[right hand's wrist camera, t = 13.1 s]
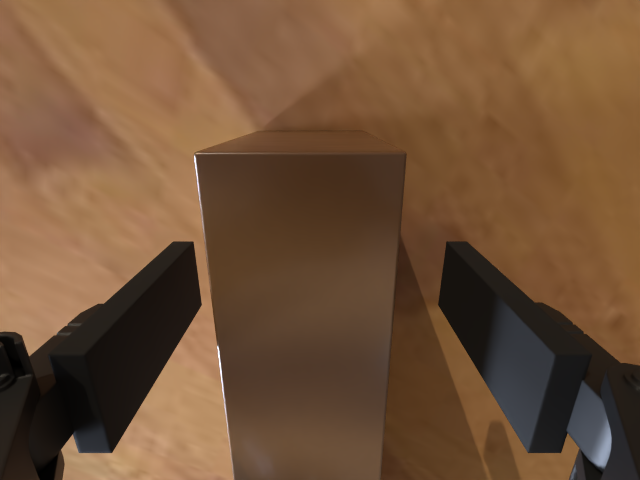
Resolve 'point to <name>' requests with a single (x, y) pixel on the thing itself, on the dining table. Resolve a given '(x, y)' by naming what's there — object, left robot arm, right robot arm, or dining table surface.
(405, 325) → the dining table surface
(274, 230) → the bar
